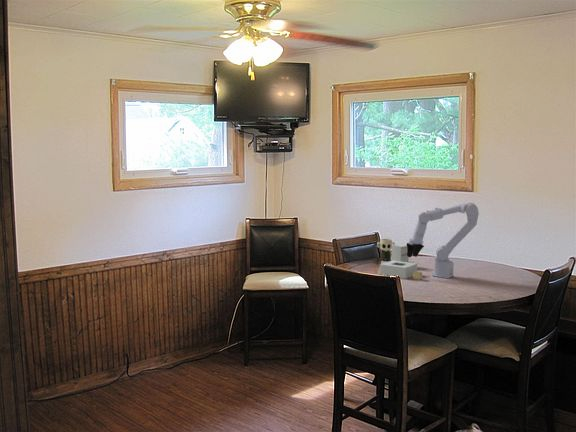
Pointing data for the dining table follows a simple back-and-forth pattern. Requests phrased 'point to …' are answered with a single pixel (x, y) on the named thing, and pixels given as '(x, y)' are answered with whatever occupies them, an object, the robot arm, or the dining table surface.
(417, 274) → the wooden block
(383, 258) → the character mug
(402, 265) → the white square ring
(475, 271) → the dining table surface
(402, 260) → the supplement box
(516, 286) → the dining table surface
